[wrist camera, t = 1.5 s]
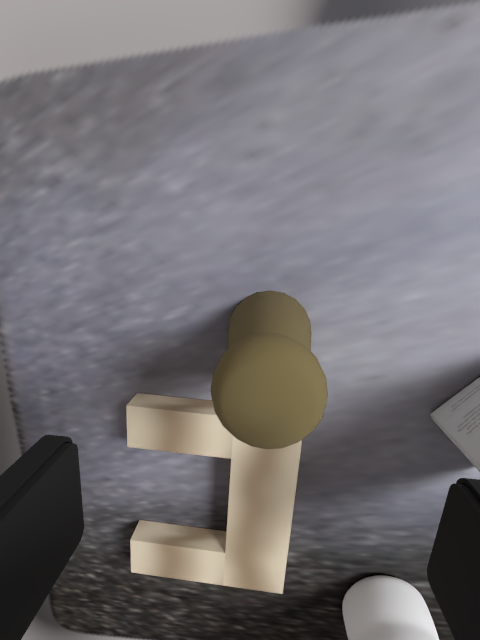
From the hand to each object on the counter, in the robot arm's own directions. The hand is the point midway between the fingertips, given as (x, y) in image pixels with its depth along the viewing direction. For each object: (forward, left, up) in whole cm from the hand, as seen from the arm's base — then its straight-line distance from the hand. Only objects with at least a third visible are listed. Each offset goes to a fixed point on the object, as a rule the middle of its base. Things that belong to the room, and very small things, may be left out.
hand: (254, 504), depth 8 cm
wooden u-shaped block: (+3, +14, -16) cm, 22 cm away
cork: (0, 0, -16) cm, 16 cm away
